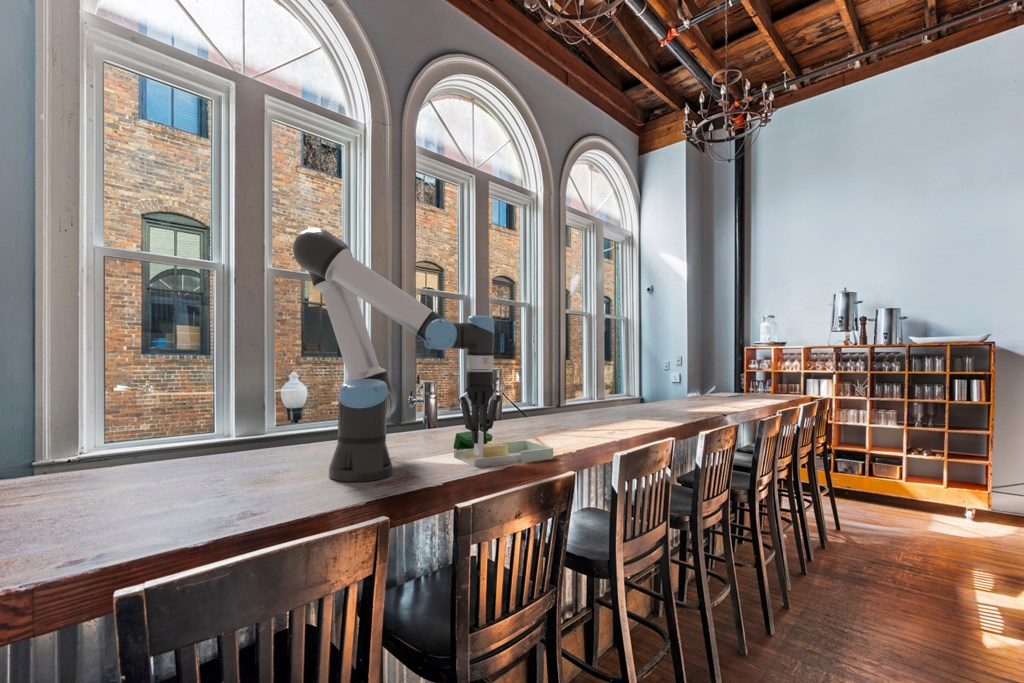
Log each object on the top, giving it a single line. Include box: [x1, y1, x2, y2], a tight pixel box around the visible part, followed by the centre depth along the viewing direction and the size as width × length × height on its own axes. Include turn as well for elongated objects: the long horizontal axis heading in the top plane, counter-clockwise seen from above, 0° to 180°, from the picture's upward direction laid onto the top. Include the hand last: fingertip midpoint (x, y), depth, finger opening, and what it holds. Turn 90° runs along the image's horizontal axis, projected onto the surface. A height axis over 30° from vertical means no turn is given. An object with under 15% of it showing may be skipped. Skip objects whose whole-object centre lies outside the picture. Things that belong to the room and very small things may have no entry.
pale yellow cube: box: [490, 442, 508, 456], centre depth 146 cm, size 4×4×4 cm
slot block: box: [453, 448, 521, 468], centre depth 143 cm, size 14×13×3 cm
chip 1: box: [477, 443, 496, 458], centre depth 143 cm, size 4×4×4 cm
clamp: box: [453, 430, 494, 450], centre depth 159 cm, size 12×6×9 cm, turn 132°
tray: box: [497, 439, 554, 463], centre depth 150 cm, size 11×14×4 cm
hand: (478, 454), depth 142 cm, fingers closed
